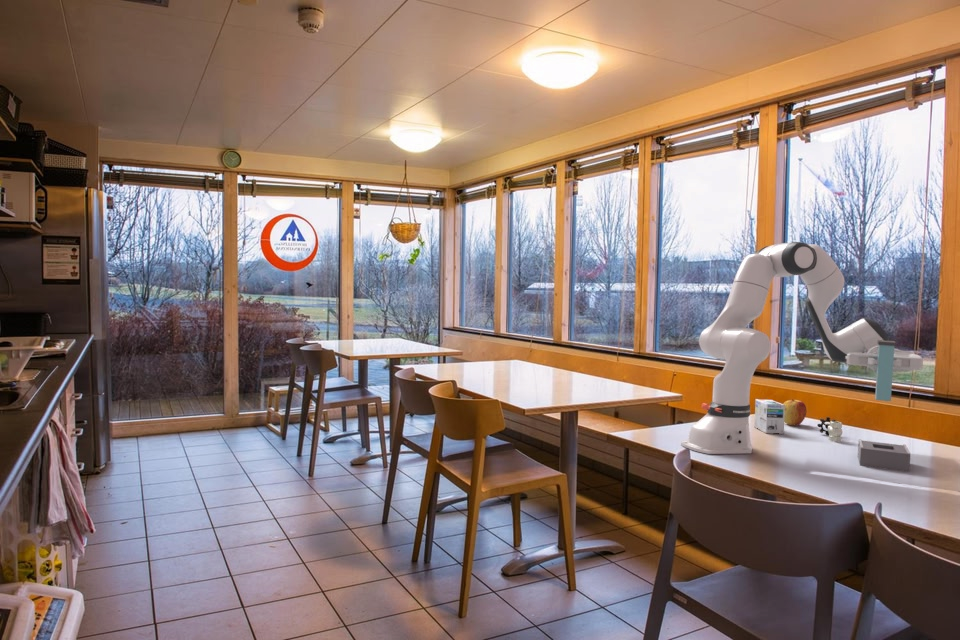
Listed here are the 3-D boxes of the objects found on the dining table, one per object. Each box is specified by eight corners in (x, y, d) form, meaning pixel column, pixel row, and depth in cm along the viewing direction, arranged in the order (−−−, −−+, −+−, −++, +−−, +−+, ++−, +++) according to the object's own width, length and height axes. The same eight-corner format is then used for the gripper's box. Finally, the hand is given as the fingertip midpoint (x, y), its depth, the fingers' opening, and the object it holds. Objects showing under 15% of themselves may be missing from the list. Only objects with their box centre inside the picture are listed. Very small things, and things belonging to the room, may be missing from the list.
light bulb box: (784, 434, 229) (786, 404, 229) (765, 433, 229) (767, 403, 229) (771, 427, 240) (772, 399, 240) (753, 427, 240) (754, 398, 240)
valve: (847, 443, 218) (836, 435, 230) (848, 424, 218) (837, 417, 230) (826, 441, 220) (816, 434, 232) (827, 422, 220) (817, 416, 231)
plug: (892, 401, 194) (895, 342, 192) (875, 400, 196) (878, 341, 194) (890, 399, 198) (894, 341, 196) (873, 397, 200) (877, 340, 198)
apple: (804, 428, 241) (805, 402, 240) (777, 425, 245) (779, 399, 245) (807, 424, 248) (808, 399, 248) (781, 421, 253) (782, 396, 253)
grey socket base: (909, 475, 180) (910, 453, 180) (859, 468, 186) (860, 447, 185) (904, 465, 191) (905, 444, 190) (857, 459, 196) (858, 439, 196)
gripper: (845, 347, 212) (846, 350, 199) (919, 351, 202) (926, 355, 190) (844, 366, 212) (845, 370, 200) (918, 371, 202) (924, 376, 190)
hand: (885, 363), depth 195 cm, fingers closed on plug, 4 cm apart
